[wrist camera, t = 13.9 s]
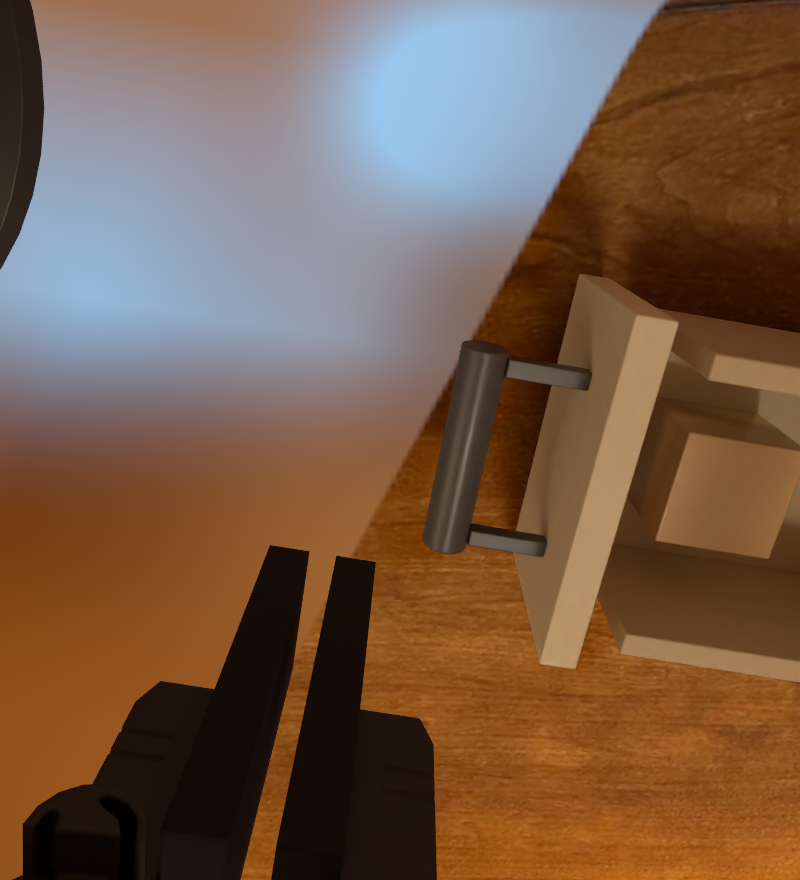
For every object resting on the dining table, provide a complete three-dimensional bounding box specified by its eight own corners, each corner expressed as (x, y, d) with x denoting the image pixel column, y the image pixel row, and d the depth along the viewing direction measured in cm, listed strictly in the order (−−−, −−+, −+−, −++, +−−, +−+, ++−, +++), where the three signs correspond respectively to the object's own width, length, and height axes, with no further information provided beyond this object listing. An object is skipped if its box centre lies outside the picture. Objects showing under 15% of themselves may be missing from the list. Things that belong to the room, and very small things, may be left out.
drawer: (412, 531, 31) (410, 644, 24) (466, 253, 28) (484, 287, 20) (848, 602, 32) (974, 732, 25) (961, 340, 28) (1151, 403, 21)
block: (624, 493, 29) (654, 541, 26) (653, 395, 28) (689, 431, 24) (724, 509, 30) (769, 560, 26) (758, 413, 28) (810, 452, 24)
